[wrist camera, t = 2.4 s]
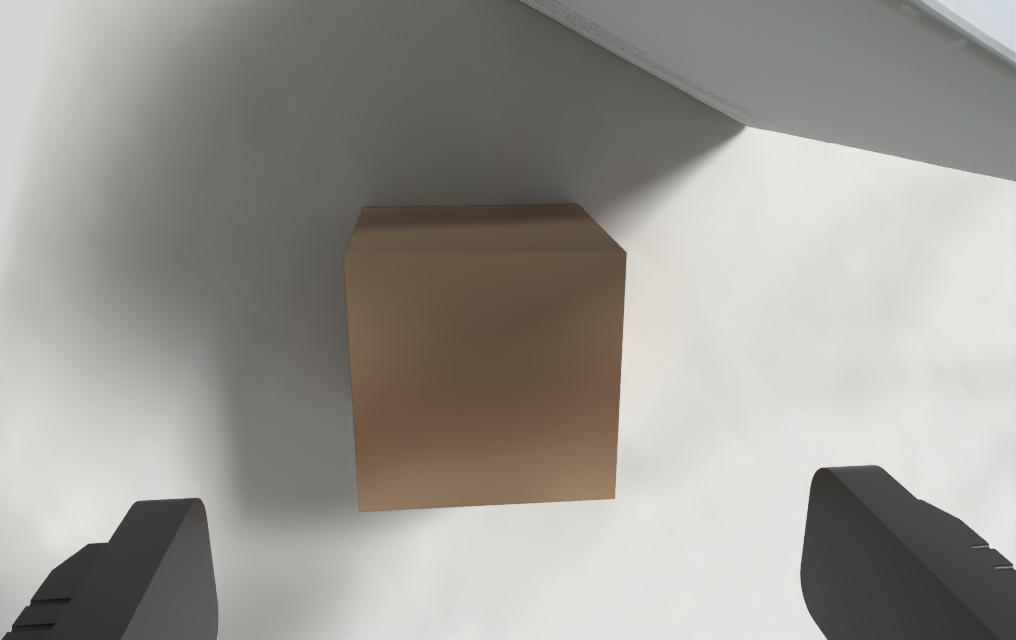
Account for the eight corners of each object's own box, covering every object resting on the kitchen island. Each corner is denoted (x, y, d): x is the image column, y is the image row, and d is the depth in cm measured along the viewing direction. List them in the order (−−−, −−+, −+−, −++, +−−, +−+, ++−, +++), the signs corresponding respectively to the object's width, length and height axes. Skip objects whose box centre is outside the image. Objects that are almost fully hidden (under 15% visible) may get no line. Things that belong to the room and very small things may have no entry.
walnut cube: (362, 207, 19) (343, 258, 14) (576, 203, 19) (626, 252, 15) (374, 405, 20) (359, 511, 16) (571, 397, 21) (615, 498, 16)
